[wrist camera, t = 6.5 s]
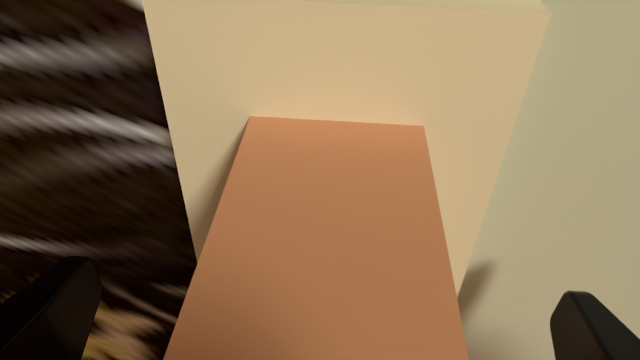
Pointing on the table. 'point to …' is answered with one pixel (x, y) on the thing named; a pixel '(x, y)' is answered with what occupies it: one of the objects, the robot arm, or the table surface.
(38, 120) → the table surface
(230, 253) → the stub
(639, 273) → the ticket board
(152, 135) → the table surface
